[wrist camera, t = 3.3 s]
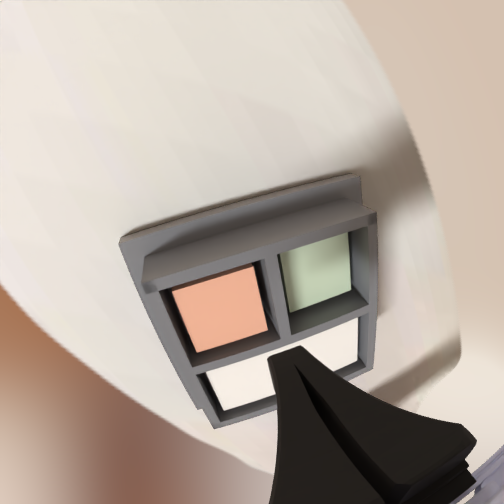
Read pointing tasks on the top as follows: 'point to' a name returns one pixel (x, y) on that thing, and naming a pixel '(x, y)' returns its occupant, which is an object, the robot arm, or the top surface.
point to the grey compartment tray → (258, 279)
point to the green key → (315, 272)
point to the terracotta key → (221, 307)
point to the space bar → (256, 368)
